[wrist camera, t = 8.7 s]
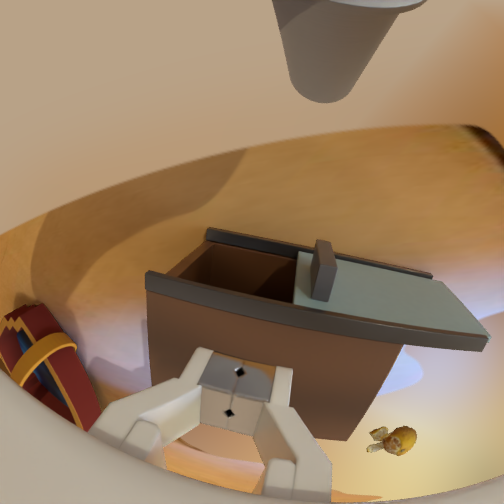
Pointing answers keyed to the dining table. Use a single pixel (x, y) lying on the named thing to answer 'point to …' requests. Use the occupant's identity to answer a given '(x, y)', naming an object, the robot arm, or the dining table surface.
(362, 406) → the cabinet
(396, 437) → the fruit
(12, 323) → the decorative basket
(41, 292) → the dining table surface
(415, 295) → the grey sliding lid
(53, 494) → the robot arm
